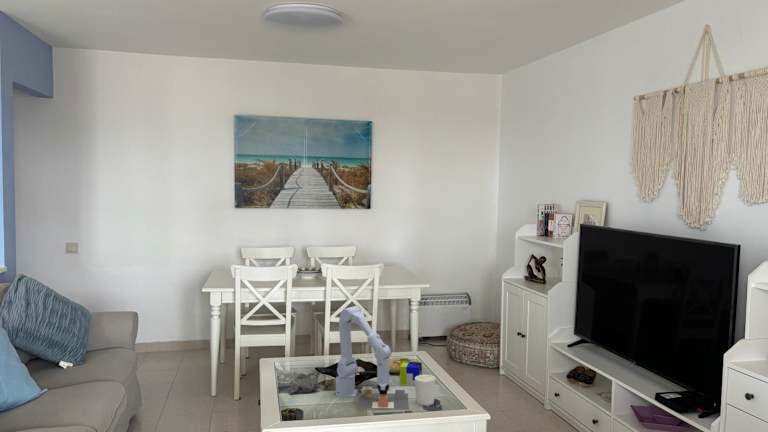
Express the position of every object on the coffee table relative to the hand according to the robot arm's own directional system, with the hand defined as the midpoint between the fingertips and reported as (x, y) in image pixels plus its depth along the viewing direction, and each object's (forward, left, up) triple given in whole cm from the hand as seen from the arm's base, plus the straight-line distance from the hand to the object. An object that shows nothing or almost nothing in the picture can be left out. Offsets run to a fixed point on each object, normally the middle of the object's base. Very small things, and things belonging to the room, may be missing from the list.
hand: (383, 400), depth 275 cm
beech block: (-8, +7, -1) cm, 11 cm away
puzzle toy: (+14, +30, -2) cm, 33 cm away
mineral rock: (-40, +14, -2) cm, 43 cm away
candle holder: (+20, +1, -2) cm, 20 cm away
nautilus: (+10, +49, -2) cm, 50 cm away
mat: (0, +2, -2) cm, 2 cm away
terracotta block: (0, -4, -1) cm, 4 cm away
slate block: (+8, +7, -1) cm, 11 cm away
